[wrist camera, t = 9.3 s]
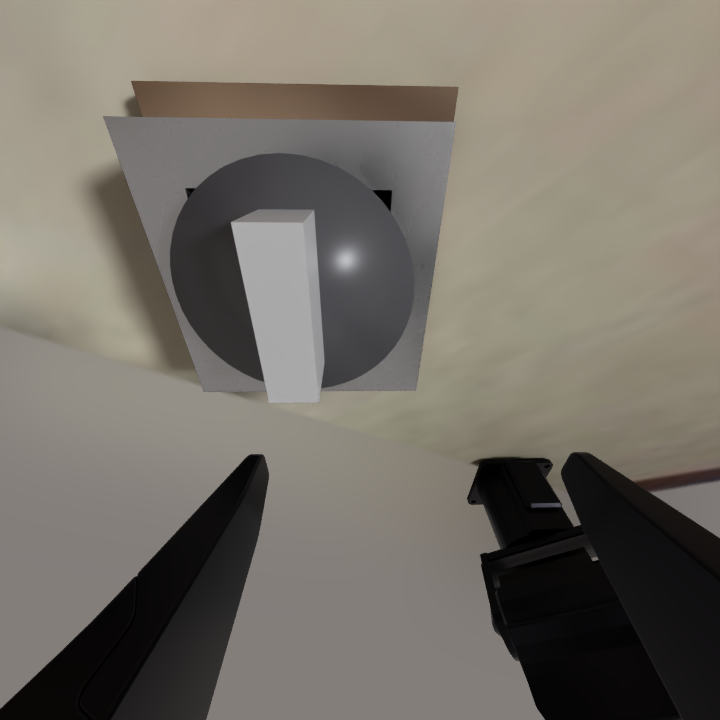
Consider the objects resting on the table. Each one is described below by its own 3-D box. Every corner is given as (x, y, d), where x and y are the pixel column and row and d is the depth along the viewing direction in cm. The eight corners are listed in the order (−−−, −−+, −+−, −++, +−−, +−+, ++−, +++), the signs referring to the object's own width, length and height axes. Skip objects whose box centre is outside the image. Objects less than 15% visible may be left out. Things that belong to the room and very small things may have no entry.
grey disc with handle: (392, 343, 17) (412, 430, 12) (238, 343, 17) (181, 432, 11) (408, 158, 12) (456, 151, 7) (190, 155, 12) (48, 145, 6)
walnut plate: (414, 359, 21) (417, 369, 20) (226, 360, 20) (220, 370, 19) (450, 93, 13) (458, 87, 12) (148, 87, 13) (130, 80, 12)
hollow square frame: (404, 350, 19) (416, 390, 15) (230, 350, 18) (203, 391, 15) (428, 133, 13) (456, 121, 9) (170, 129, 12) (103, 116, 9)
